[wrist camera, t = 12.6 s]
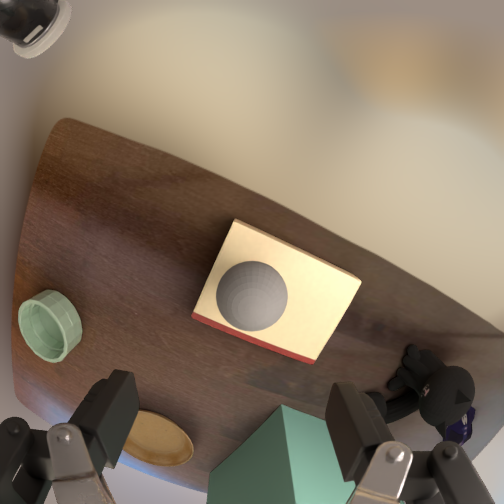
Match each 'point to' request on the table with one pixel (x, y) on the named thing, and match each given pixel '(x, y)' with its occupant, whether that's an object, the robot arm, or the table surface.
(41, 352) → the bowl
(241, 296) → the light bulb
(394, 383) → the figurine
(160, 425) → the plant saucer
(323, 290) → the book
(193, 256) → the table surface
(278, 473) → the box
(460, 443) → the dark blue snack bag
